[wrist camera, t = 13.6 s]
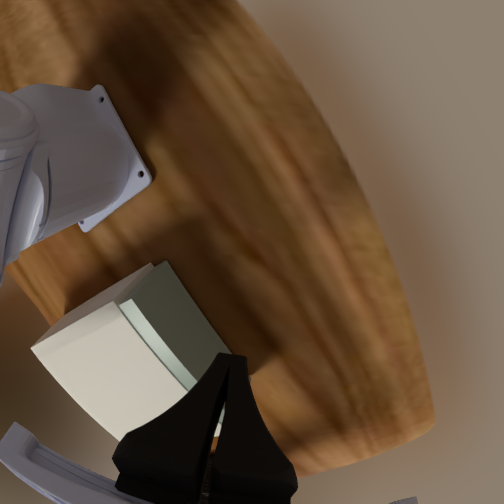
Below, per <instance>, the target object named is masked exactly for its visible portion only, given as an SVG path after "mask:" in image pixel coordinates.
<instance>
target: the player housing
mask: <svg viewBox="0 0 504 504" xmlns="http://www.w3.org/2000/svg"><path fill="white" fill-rule="evenodd" d="M153 268H154V266H153V265H152V263H149V264H147V265H146V266H144V267H142V268H140V269H139V270H137V271H135V272H134V273H132V274H130V275H129V276H127V277H125V278H124V279H122V280H120V281H119V282H117V283H115V284H114V285H112V286H110V287H109V288H107V289H105V290H104V291H102V292H100V293H99V294H97V295H96V296H94V297H92V298H91V299H89V300H87V301H86V302H84V303H83V304H81V305H79V306H78V307H76V308H75V309H73V310H72V311H70V312H68V313H67V314H65V315H64V316H63V317H62V318H61V319H59V320H58V321H57V322H56V323H55V324H54V325H53V326H52V327H51V328H50V329H49V330H48V331H47V332H46V333H45V334H44V335H43V336H42V337H41V338H40V339H39V340H38V341H37V342H36V343H35V344H34V345H33V346H32V347H31V350H32V351H33V352H34V354H35V355H36V356H37V357H38V359H39V360H40V361H41V362H42V364H43V365H44V366H45V367H46V369H47V370H48V371H49V372H50V373H51V375H52V376H53V377H54V378H55V379H56V380H57V382H58V383H59V384H60V385H61V386H62V387H63V388H64V389H65V390H66V391H67V392H68V393H69V395H70V396H71V397H72V398H73V399H74V400H75V401H76V402H77V403H78V404H79V405H80V406H81V407H82V408H83V409H84V410H85V411H86V412H87V413H88V414H89V415H90V416H91V417H93V418H94V419H95V420H96V421H97V422H98V423H99V424H100V425H101V426H102V427H104V428H105V429H106V430H107V431H108V432H109V433H110V434H111V435H113V436H114V437H115V438H116V439H117V440H119V441H121V439H122V438H123V437H124V436H125V434H126V433H127V432H130V431H132V430H134V429H136V428H138V427H140V426H142V425H144V424H146V423H148V422H149V421H151V420H153V419H154V418H156V417H158V416H159V415H161V414H162V413H164V412H165V411H166V410H168V409H169V408H170V407H172V406H173V405H174V404H175V403H177V402H178V401H179V400H180V399H181V398H182V397H183V396H184V395H185V394H187V393H188V392H189V390H188V389H187V388H186V387H185V386H184V385H183V384H182V383H181V382H180V381H179V379H178V378H177V377H176V376H175V375H174V374H173V373H172V372H171V371H170V369H169V368H168V367H167V366H166V365H165V364H164V362H163V361H162V360H161V359H160V358H159V357H158V355H157V354H156V353H155V352H154V351H153V349H152V348H151V347H150V346H149V345H148V343H147V342H146V341H145V340H144V338H143V337H142V336H141V335H140V333H139V332H138V331H137V329H136V328H135V327H134V326H133V324H132V323H131V322H130V320H129V319H128V318H127V316H126V315H125V314H124V312H123V311H122V309H121V308H120V307H119V305H120V303H121V302H122V301H123V300H124V299H125V298H126V297H127V296H128V295H129V294H130V292H131V291H132V290H133V289H134V288H135V287H136V286H137V285H138V284H139V283H140V282H141V281H142V280H143V279H144V277H145V276H146V275H147V274H148V273H149V272H150V271H151V270H152V269H153ZM221 425H222V423H221V422H220V421H219V422H218V425H217V428H216V431H215V435H214V437H216V436H219V434H220V430H221Z"/></svg>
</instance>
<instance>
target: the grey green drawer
mask: <svg viewBox="0 0 504 504" xmlns="http://www.w3.org/2000/svg"><path fill="white" fill-rule="evenodd" d="M119 307H120V308H121V309H122V311H123V312H124V314H125V315H126V316H127V318H128V319H129V320H130V322H131V323H132V324H133V326H134V327H135V328H136V329H137V331H138V332H139V333H140V335H141V336H142V337H143V338H144V340H145V341H146V342H147V343H148V345H149V346H150V347H151V348H152V349H153V351H154V352H155V353H156V354H157V355H158V357H159V358H160V359H161V360H162V361H163V362H164V364H165V365H166V366H167V367H168V368H169V369H170V371H171V372H172V373H173V374H174V375H175V376H176V377H177V378H178V379H179V381H180V382H181V383H182V384H183V385H184V386H185V387H186V388H187V389H188V390H190V389H191V388H192V387H193V386H194V385H195V384H196V383H197V382H198V381H199V379H200V378H201V377H202V376H203V374H204V373H205V372H206V371H207V369H208V368H209V366H210V365H211V364H212V362H213V360H214V359H215V357H216V355H217V353H219V352H222V353H227V354H232V353H231V352H230V351H229V349H228V348H227V347H226V345H225V344H224V343H223V341H222V340H221V339H220V337H219V336H218V334H217V333H216V332H215V330H214V329H213V328H212V326H211V325H210V323H209V322H208V321H207V319H206V318H205V316H204V315H203V314H202V312H201V311H200V309H199V308H198V307H197V305H196V304H195V302H194V301H193V299H192V298H191V296H190V295H189V294H188V292H187V291H186V289H185V288H184V286H183V285H182V283H181V282H180V280H179V279H178V277H177V276H176V274H175V273H174V271H173V270H172V268H171V267H170V265H169V263H168V262H167V260H166V261H164V262H162V263H160V264H159V265H157V266H155V267H154V268H153V269H152V270H151V271H150V272H149V273H148V274H147V275H146V276H145V277H144V279H143V280H142V281H141V282H140V283H139V284H138V285H137V286H136V287H135V288H134V289H133V290H132V291H131V292H130V294H129V295H128V296H127V297H126V298H125V299H124V300H123V301H122V302H121V303H120V305H119ZM248 376H249V375H248ZM249 381H250V382H251V378H250V376H249ZM224 410H225V403H224V406H223V409H222V413H221V416H220V419H219V421H220V422H221V423H222V421H223V416H224Z"/></svg>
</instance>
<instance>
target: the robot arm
mask: <svg viewBox="0 0 504 504" xmlns="http://www.w3.org/2000/svg"><path fill="white" fill-rule="evenodd" d="M103 97H104V101H103V102H101V100H102V98H103ZM141 171H143V172H144V176H143V177H141V176H140V172H141ZM151 183H152V176H151V174H150V172H149V171H148V169H147V167H146V165H145V164H144V162H143V160H142V158H141V156H140V155H139V153H138V151H137V149H136V147H135V146H134V144H133V142H132V140H131V138H130V136H129V135H128V133H127V131H126V129H125V127H124V125H123V123H122V121H121V120H120V118H119V116H118V114H117V112H116V110H115V108H114V106H113V104H112V102H111V100H110V98H109V96H108V95H107V93H106V91H105V89H104V87H103V86H102V85H96V86H95V87H93V88H92V89H91V90H90V91H86V90H80V89H75V88H69V87H63V86H57V85H50V84H33V85H29V86H26V87H23V88H21V89H19V90H17V91H15V92H13V93H12V94H10V93H7V92H4V91H1V90H0V287H1V285H2V282H3V277H4V267H5V266H7V265H8V264H10V263H12V262H13V261H15V260H17V259H18V258H19V254H20V252H21V251H22V250H24V249H26V248H28V247H30V246H31V245H34V244H35V243H37V242H39V241H41V240H43V239H45V238H47V237H49V236H51V235H53V234H55V233H57V232H59V231H61V230H63V229H65V228H67V227H69V226H71V225H73V224H75V223H77V222H78V224H79V226H80V227H81V229H82V231H84V232H88V231H90V230H91V229H92V228H93V227H95V226H96V225H97V224H98V223H100V222H101V221H102V220H103V219H105V218H106V217H107V216H108V215H110V214H111V213H112V212H114V211H115V210H116V209H118V208H119V207H120V206H121V205H123V204H124V203H125V202H127V201H128V200H129V199H131V198H132V197H134V196H135V195H136V194H138V193H139V192H140V191H142V190H143V189H145V188H146V187H148V186H149V185H150V184H151ZM82 220H84V223H83V222H82ZM224 403H225V410H224V416H223V421H222V425H221V430H220V434H219V438H218V443H217V447H216V451H215V455H214V459H213V463H212V472H211V485H210V490H209V495H208V504H290V499H291V497H292V496H293V494H294V493H295V492H296V491H297V488H298V482H297V477H296V473H295V470H294V467H293V465H292V463H291V462H290V461H289V460H288V459H287V457H286V456H285V455H284V454H283V452H282V451H281V450H280V448H279V447H278V445H277V444H276V442H275V441H274V439H273V437H272V436H271V434H270V432H269V431H268V429H267V427H266V425H265V423H264V421H263V419H262V417H261V415H260V412H259V410H258V408H257V405H256V402H255V399H254V396H253V393H252V389H251V385H250V381H249V376H248V370H247V358H246V357H245V356H239V355H233V354H227V353H222V352H219V353H217V355H216V357H215V359H214V360H213V362H212V364H211V365H210V366H209V368H208V369H207V371H206V372H205V373H204V374H203V376H202V377H201V378H200V379H199V381H198V382H197V383H196V384H195V385H194V386H193V387H192V388H191V389H190V390H189V392H188V393H187V394H185V395H184V396H183V397H182V398H181V399H180V400H179V401H178V402H177V403H175V404H174V405H173V406H172V407H170V408H169V409H168V410H166V411H165V412H164V413H162V414H161V415H159V416H158V417H156V418H154V419H153V420H151V421H149V422H148V423H146V424H144V425H142V426H140V427H138V428H136V429H134V430H132V431H130V432H127V433H126V434H125V436H124V437H123V438H122V439H121V441H120V443H119V444H118V446H117V448H116V450H115V452H114V454H113V457H112V460H113V462H114V464H115V465H116V467H117V469H118V470H119V472H120V474H119V476H118V479H117V481H114V480H111V479H109V478H106V477H104V476H102V475H99V474H97V473H95V472H93V471H91V470H89V469H87V468H84V467H82V466H80V465H78V464H76V463H74V462H72V461H71V460H69V459H67V458H65V457H63V456H61V455H60V454H58V453H56V452H54V451H53V450H51V449H49V448H47V447H46V446H44V445H42V444H41V443H39V441H38V440H37V438H36V437H35V436H34V435H33V434H32V433H31V432H29V431H28V430H27V429H25V428H24V427H22V426H21V425H19V424H18V423H16V422H14V423H13V424H12V426H11V427H10V429H9V430H8V432H7V433H6V434H5V436H4V437H3V439H2V440H1V442H0V461H1V462H2V463H3V464H4V465H5V466H6V467H7V468H8V469H9V470H10V471H12V472H13V473H14V474H15V475H16V476H17V477H19V478H20V479H21V480H23V481H24V482H25V483H27V484H28V485H30V486H31V487H32V488H34V489H35V490H37V491H38V492H40V493H41V494H43V495H44V496H46V497H47V498H49V499H50V500H52V501H54V502H55V503H57V504H200V502H201V497H202V492H203V486H204V481H205V476H206V471H207V466H208V461H209V456H210V451H211V446H212V442H213V438H214V435H215V431H216V428H217V425H218V422H219V419H220V416H221V413H222V409H223V406H224ZM390 504H418V503H417V498H416V497H411V498H407V499H403V500H398V501H395V502H392V503H390Z"/></svg>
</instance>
